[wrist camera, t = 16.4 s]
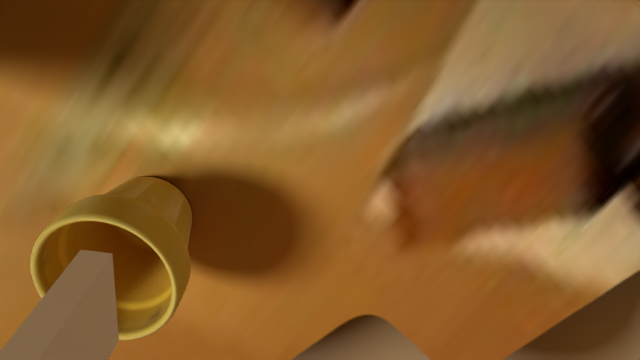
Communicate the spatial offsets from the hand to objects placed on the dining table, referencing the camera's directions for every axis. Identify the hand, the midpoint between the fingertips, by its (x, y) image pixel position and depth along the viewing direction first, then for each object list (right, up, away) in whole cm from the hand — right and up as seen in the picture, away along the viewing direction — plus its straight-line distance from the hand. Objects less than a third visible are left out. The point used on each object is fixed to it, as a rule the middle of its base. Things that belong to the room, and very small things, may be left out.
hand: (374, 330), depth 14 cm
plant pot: (-15, +1, +33) cm, 36 cm away
